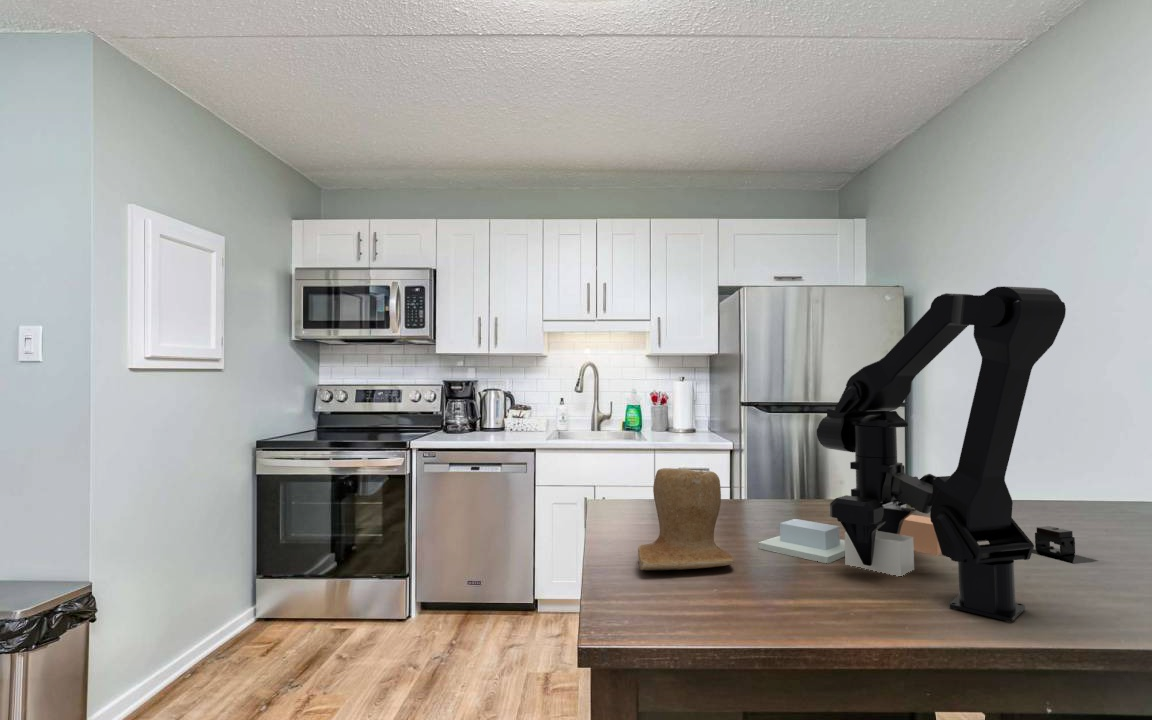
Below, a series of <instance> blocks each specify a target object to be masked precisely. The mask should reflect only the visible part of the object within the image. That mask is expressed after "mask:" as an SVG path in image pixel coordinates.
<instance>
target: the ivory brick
mask: <svg viewBox="0 0 1152 720" xmlns="http://www.w3.org/2000/svg"><path fill="white" fill-rule="evenodd" d="M844 540H845V557H844V558H845V559H844V563H845V566H847V565H850V566H849V567H852V566H856V567H855V568H857V567H861V568H865V569H864V570H866V569H869V570H868V571H870V570H873V571H872V572H875V571H877V572H876V573H880V572H882V573H881V574H884V573H886V574H885V575H889V574H890V576H893V575H896V576H895V577H898V576H902V577H904V576H906V575H907V574H906V573H908V572H909V573H911V572H913V571H915V556H914V555H915V554H914V553H915V551H914V545H913V537H911V536H905V535H899V534H893V533H887V532H882V531H878V530H877V531H876V536H875V545H874V554H873V561H872V565H871V566H867V565H864V564H863V563H862V561H861V559H860V557H859V555H858V553H857V551H856V549H855V547H854V545H853V543H852V541H851V539H850V537H849V536H848V534H847V532H846V531H845V532H844ZM861 568H860V569H861ZM912 570H913V571H912ZM910 571H911V572H910ZM909 573H908V574H909ZM905 574H906V575H905ZM903 575H904V576H903Z"/></svg>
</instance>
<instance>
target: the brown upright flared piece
mask: <svg viewBox="0 0 1152 720" xmlns="http://www.w3.org/2000/svg"><path fill="white" fill-rule="evenodd" d="M654 476H655V478H654V481H653V482H654V483H653V487H652V488H653V489H652V491H653V493H652V494H653V500H654V504H655V508H656V513H657V520H658V526H659V535H658V537H657V538H656V539H655V540H654V541H653V542H650V543H647V544H645V543H644V544H641V545H639V546H638V547H637V556H638V565H639V566H638V567H639V568H640V570H641V571H675V570H676V571H680V570H681V571H682V570H696V569H706V568H707V569H708V568H717V567H723V566H730V565H732V564H734V563H735V559H734V557H733V556H732V555H731V554H730V553H729V552H727V551H726V550H724V549H722V548H720V547H719V546H718V545H717V544H716V542H715V529H716V524H717V519H718V518H719V514H720V511H721V510H720V508H721V504H722V494H721V493H722V490H721V481H720V478H719V476H718V474H717V473H716V472H714V471H711V470H710V471H709V470H707V471H699V470H697V471H695V470H694V469H693V470H692V469H690V468H689V469H686V468H671V467H668V468H667V467H665V468H660V469H658V470H657V471H656V474H655V475H654Z"/></svg>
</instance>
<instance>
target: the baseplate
mask: <svg viewBox="0 0 1152 720" xmlns="http://www.w3.org/2000/svg"><path fill="white" fill-rule="evenodd" d="M757 547H758V549H759V550H764V551H767V552H772V553H773V552H774V553H778V554H781V555H782V554H783V555H785V556H791V557H796V558H800V559H805V560H808V561H809V560H810V561H813V562H817V561H818V563H822V564H826V563H827V564H831V563H833V562H835V561H837V560H840V559H842V558H845V539H841V527H840V526H839V525H834V524H827V523H822V522H816V521H810V520H804V519H799V518H798V519H797V518H793V519H789V520H786V521H782V522H779V535H778V536H774V537H771V538H768V539H764V540H762V541H759V542H758V546H757Z"/></svg>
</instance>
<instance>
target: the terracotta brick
mask: <svg viewBox="0 0 1152 720" xmlns="http://www.w3.org/2000/svg"><path fill="white" fill-rule="evenodd" d="M899 535H905V536H911V537H913V545H914V552H918V553H924V554H928V555H933V556H937V555H938V556H941V555H942V552H941V549H940V546H939V543H938V539H937V536H936V533H935V530H934V526H933V523H932V522H931V518H930V516H929V517H928V516H922V515H915V514H911V515H910V516H908V517H907V518H906V519H905V520H904V521H903V524H902V527H901V530H900V533H899ZM940 554H941V555H940Z"/></svg>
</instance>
